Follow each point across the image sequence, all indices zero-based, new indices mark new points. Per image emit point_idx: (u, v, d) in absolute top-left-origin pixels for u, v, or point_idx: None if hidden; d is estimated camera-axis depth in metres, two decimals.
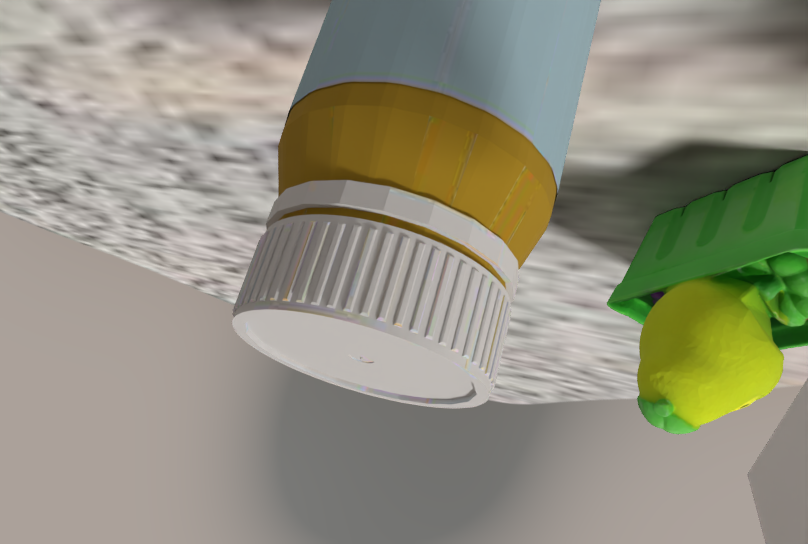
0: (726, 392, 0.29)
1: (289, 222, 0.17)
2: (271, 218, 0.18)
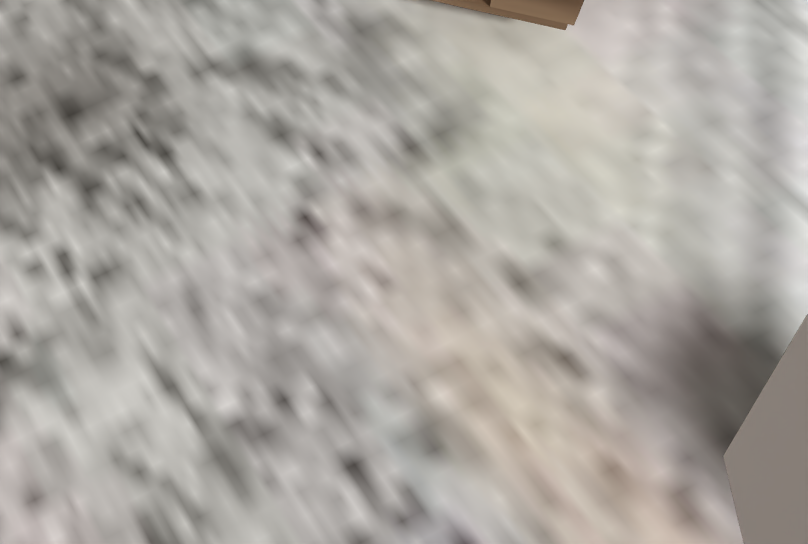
0: None
1: None
2: None
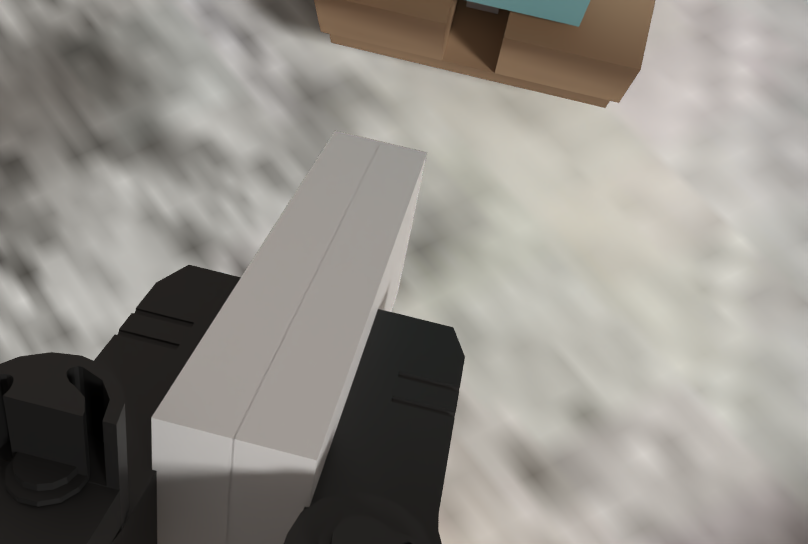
0: None
1: None
2: None
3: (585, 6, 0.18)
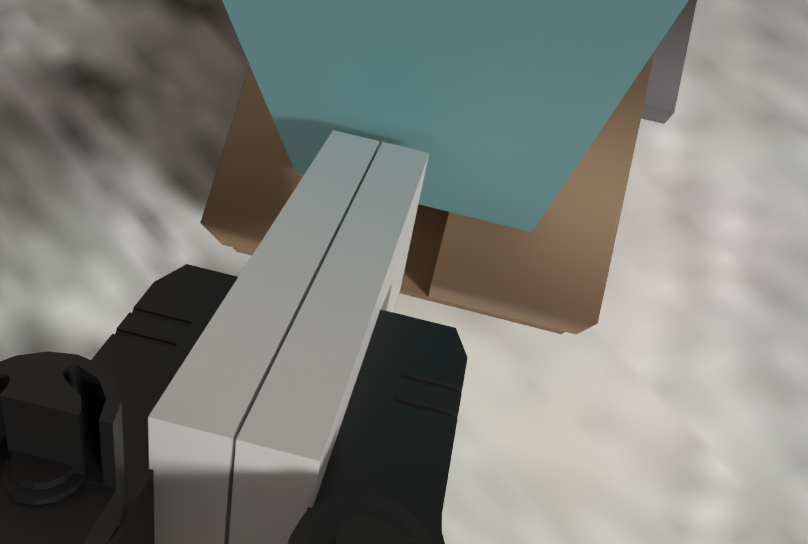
0: None
1: None
2: None
3: (537, 220, 0.15)
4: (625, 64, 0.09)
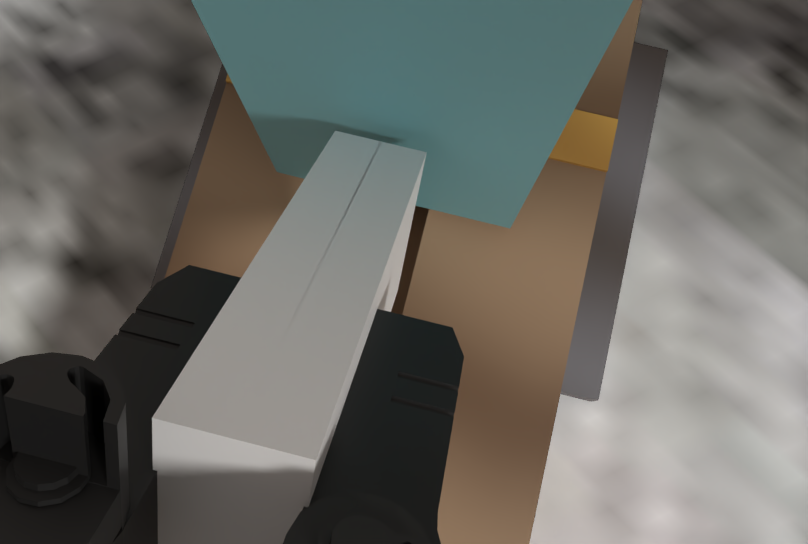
0: None
1: None
2: None
3: (514, 216, 0.15)
4: (583, 57, 0.09)
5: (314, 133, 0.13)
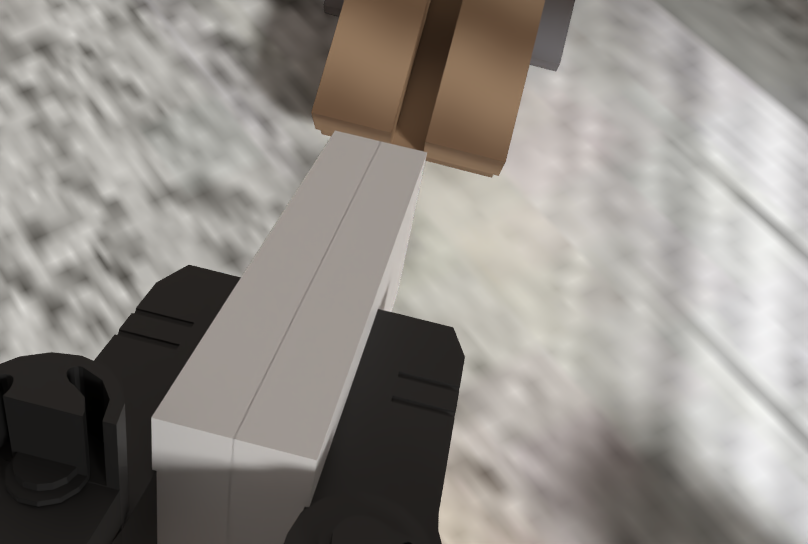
0: None
1: None
2: None
3: None
4: None
5: None
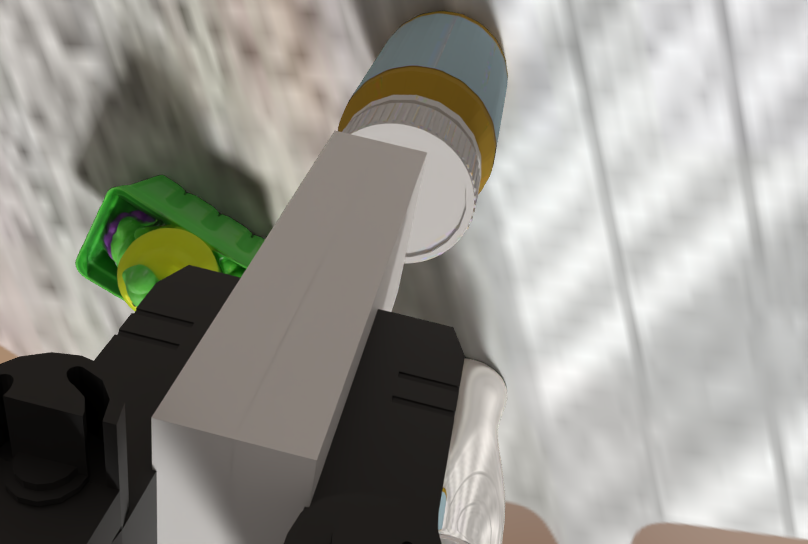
0: None
1: (464, 136, 0.30)
2: (445, 113, 0.30)
3: None
4: None
5: None
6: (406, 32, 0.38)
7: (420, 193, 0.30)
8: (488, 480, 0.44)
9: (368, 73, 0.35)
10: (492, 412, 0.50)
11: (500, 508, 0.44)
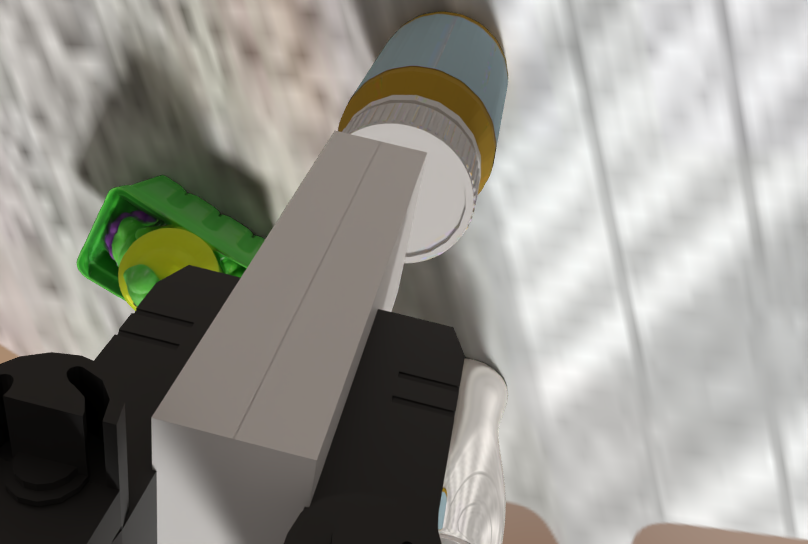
0: None
1: (463, 136, 0.30)
2: (445, 113, 0.30)
3: None
4: None
5: None
6: (406, 32, 0.38)
7: (420, 193, 0.30)
8: (488, 480, 0.44)
9: (368, 73, 0.35)
10: (493, 412, 0.50)
11: (500, 508, 0.44)
